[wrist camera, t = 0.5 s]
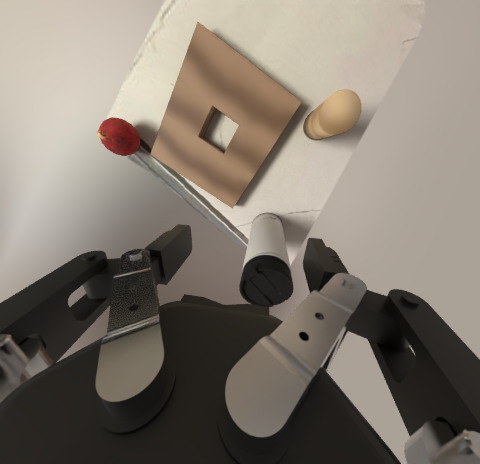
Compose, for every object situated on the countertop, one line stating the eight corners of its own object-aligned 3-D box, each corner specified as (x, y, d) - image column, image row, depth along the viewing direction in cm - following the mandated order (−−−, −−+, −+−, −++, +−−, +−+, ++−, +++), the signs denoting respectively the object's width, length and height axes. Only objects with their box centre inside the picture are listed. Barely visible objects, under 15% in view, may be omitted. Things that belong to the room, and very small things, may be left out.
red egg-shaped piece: (153, 132, 34) (122, 127, 27) (144, 161, 36) (113, 163, 29) (124, 115, 33) (85, 104, 26) (117, 144, 36) (79, 142, 29)
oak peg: (313, 106, 29) (340, 79, 18) (333, 121, 29) (371, 104, 19) (295, 131, 31) (311, 120, 20) (315, 145, 31) (340, 142, 20)
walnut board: (203, 32, 27) (197, 21, 25) (299, 105, 29) (301, 101, 27) (157, 154, 36) (150, 154, 33) (234, 205, 37) (232, 208, 35)
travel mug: (269, 205, 36) (271, 258, 18) (287, 230, 38) (306, 301, 20) (245, 222, 39) (225, 283, 21) (263, 244, 40) (259, 321, 22)
